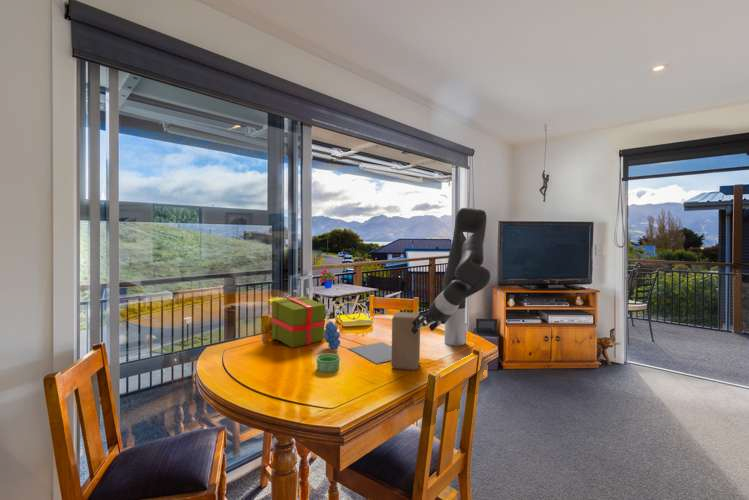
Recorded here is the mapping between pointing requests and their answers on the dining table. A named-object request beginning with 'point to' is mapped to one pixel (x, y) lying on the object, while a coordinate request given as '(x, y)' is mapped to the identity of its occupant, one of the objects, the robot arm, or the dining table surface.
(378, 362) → the mat
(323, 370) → the ramekin
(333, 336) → the grapes
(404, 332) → the block
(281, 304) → the gift box
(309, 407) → the dining table surface
